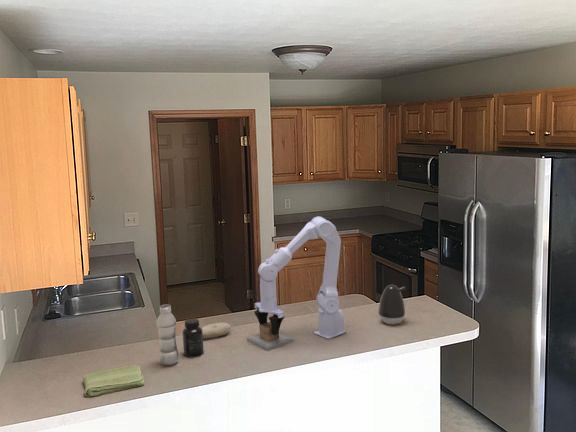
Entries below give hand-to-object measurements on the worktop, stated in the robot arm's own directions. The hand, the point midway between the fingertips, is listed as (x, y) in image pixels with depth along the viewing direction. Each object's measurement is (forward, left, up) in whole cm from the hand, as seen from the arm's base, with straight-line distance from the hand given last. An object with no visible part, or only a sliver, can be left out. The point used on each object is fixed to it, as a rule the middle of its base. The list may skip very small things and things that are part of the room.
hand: (269, 331), depth 197 cm
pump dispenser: (-46, +19, -4) cm, 50 cm away
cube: (0, 0, -2) cm, 3 cm away
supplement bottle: (+26, -10, -4) cm, 28 cm away
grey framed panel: (0, 0, -4) cm, 4 cm away
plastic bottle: (+36, -9, -4) cm, 37 cm away
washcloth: (+56, -8, -4) cm, 56 cm away
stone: (+12, -18, -4) cm, 22 cm away
